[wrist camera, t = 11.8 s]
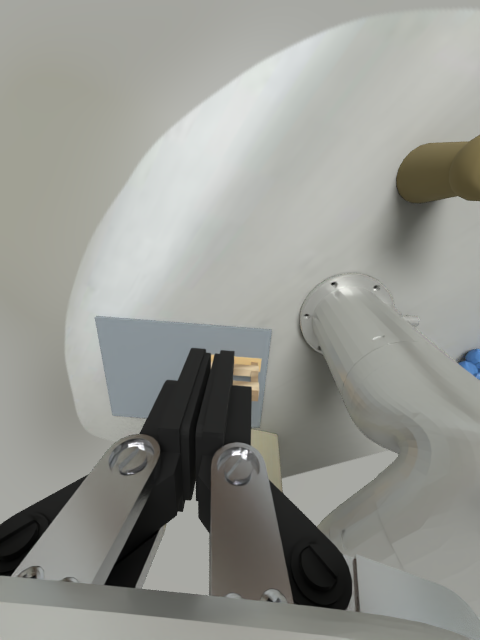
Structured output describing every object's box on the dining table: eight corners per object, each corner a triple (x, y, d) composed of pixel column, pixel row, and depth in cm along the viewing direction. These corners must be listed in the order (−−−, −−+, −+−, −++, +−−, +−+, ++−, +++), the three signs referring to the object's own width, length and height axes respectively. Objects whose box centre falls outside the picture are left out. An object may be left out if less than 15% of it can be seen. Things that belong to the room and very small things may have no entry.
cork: (424, 213, 32) (499, 221, 22) (384, 185, 31) (445, 181, 21) (465, 162, 30) (570, 146, 20) (424, 130, 29) (513, 97, 19)
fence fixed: (258, 358, 42) (259, 397, 34) (257, 367, 43) (258, 407, 35) (198, 354, 42) (185, 391, 34) (198, 362, 43) (185, 401, 35)
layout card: (271, 329, 40) (271, 331, 39) (259, 427, 48) (259, 430, 47) (96, 316, 40) (94, 317, 40) (114, 415, 48) (112, 417, 48)
